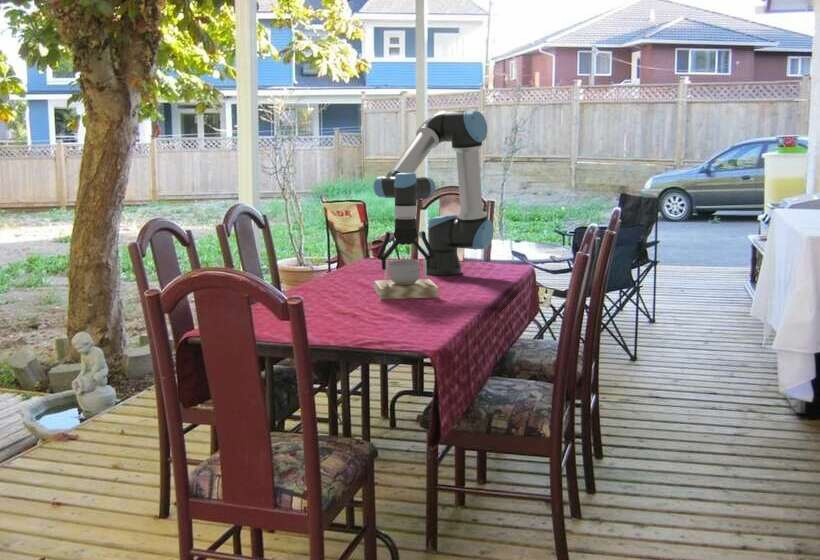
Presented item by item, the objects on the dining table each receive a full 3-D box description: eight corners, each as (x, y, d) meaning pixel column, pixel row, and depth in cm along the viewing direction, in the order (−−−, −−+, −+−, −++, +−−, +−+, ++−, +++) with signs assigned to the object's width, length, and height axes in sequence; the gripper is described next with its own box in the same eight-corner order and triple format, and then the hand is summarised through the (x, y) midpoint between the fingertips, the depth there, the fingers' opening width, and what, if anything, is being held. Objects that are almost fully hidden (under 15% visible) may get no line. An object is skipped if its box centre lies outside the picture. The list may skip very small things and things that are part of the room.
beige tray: (429, 288, 320) (429, 278, 319) (438, 297, 302) (438, 286, 302) (374, 290, 317) (374, 280, 316) (380, 299, 299) (380, 288, 299)
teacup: (416, 286, 301) (416, 263, 300) (385, 286, 303) (385, 263, 302) (424, 280, 315) (424, 258, 314) (394, 279, 317) (394, 257, 316)
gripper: (438, 216, 311) (438, 275, 314) (368, 217, 307) (369, 277, 311) (442, 218, 304) (442, 279, 307) (370, 219, 300) (371, 281, 303)
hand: (405, 278), depth 309 cm, fingers open, 13 cm apart
